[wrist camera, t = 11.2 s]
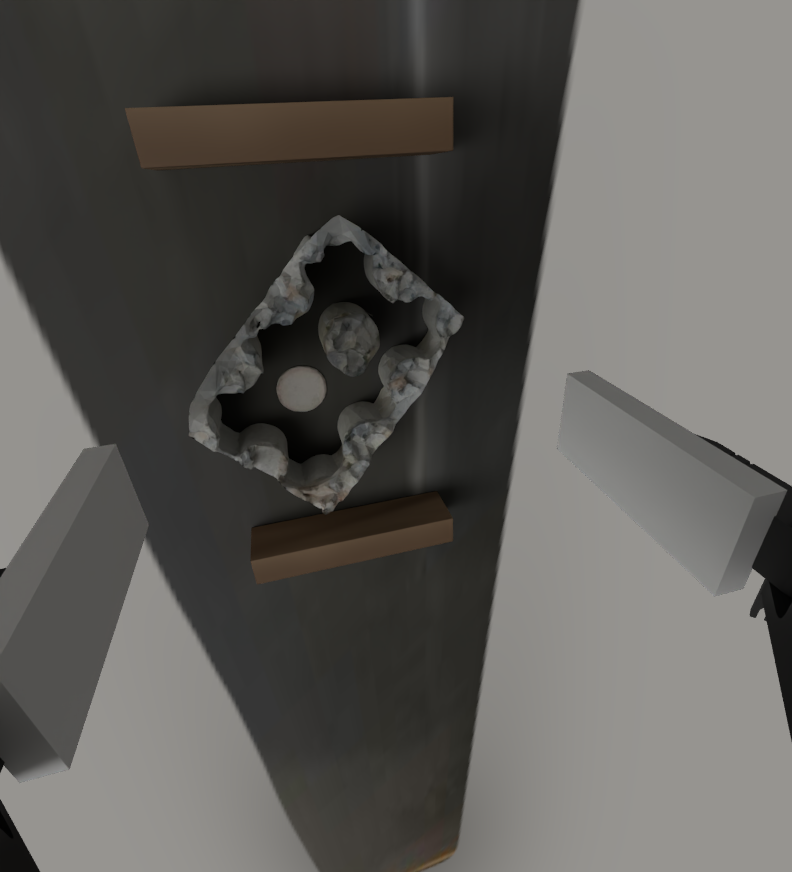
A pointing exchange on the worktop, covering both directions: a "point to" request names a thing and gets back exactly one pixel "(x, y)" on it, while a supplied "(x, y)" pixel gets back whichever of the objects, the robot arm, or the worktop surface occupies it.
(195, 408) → the egg carton
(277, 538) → the parallel wooden rails
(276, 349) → the worktop surface
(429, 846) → the worktop surface
